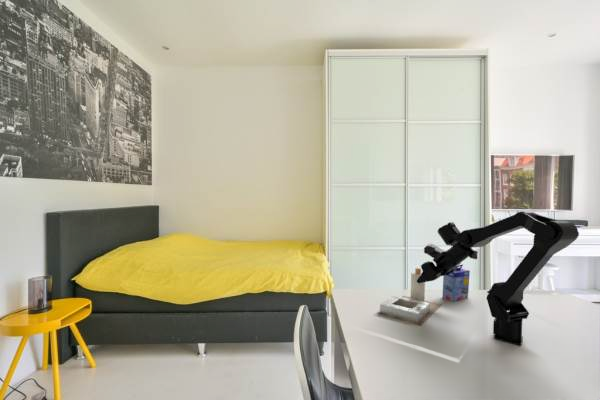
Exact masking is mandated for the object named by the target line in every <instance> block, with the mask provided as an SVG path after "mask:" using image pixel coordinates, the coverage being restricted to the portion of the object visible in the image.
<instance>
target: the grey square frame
mask: <svg viewBox="0 0 600 400" xmlns="http://www.w3.org/2000/svg"><path fill="white" fill-rule="evenodd" d="M406 297H407V296H406ZM406 297H402V295H396V294H394V295H392V296H391V297H389V298H387V299H386V300H384V301H383V302H381V303H380V305H379V312H380V313H383V314H386V315H390V316H394V317H397V318H401V319H405V320H409V321H412V322H416V323H419V322H420V321H421V320H422V319H423V318H424V317H425V316H426V315H427V314H428V313H429V312H430V303H428V302H423V301H419V300H414V299H410V298H406Z"/></svg>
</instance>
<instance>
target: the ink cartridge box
mask: <svg viewBox="0 0 600 400" xmlns="http://www.w3.org/2000/svg"><path fill="white" fill-rule="evenodd" d="M463 266H464V264H459V265H457V270H455V271H454V272H453V273H450V274H448V275H444V276H442V277H443V278H442V297H441V298H443V299H445V300H449V301H451V302H458V301H461V300H467V299H468V298H469V288H470V287H469V286H470V273H471V272H470V270H469V269H465V268H463Z"/></svg>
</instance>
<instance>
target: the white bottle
mask: <svg viewBox="0 0 600 400" xmlns="http://www.w3.org/2000/svg"><path fill="white" fill-rule="evenodd" d="M421 274H422V268H421V267H415V270H414V272H413V271H412V272H411V273H410V297H411V299H414V300H419V301H423V302H424V301H425V298H426V297H425V292H426V289H425V288H426V282H423V283H418V282H417V280H418V278H419V277H420V275H421Z"/></svg>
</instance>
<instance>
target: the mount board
mask: <svg viewBox="0 0 600 400" xmlns="http://www.w3.org/2000/svg"><path fill="white" fill-rule="evenodd" d="M401 297H406V298H410V299H411V296H406V295H401ZM424 302H428V303H430V312H429V313H428V314H427V315H426V316H425V317H424V318H423V319H422V320H421V321H420V322H419V323H416V322H412V321H409V320H405V319H401V318H397V317H394V316H390V315H386V314H383V313H380V311H379V312H377V313H376V314H377V315H380V316H383V317H388V318H391V319H395V320H398V321H401V322H405V323H409V324H413V325H416V326H419V327H420V326H421V327H422V326H423V325H424V324H425V323H426V322H427V321H428V320H429V319H430V318H432V316H433V315H434V313H435V314H436V312H437V311H438V310H439V309H440V308H441V307H442V306H443V304H442V303H439V302H432V301H429V300H428V301H427V300H424Z"/></svg>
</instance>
